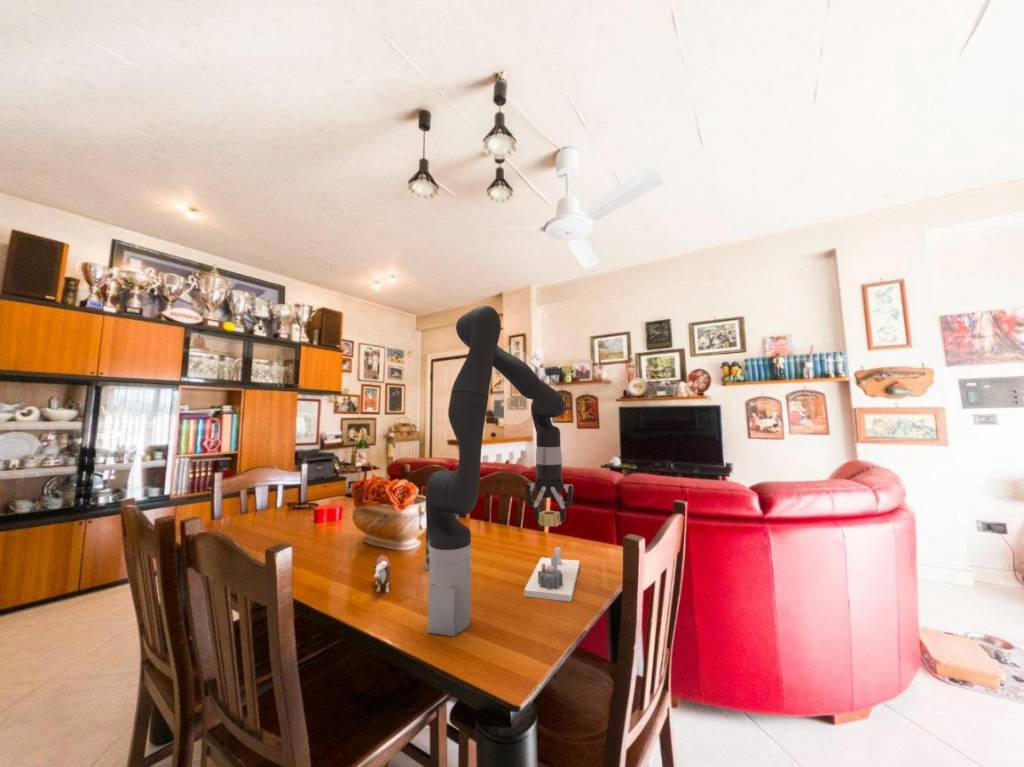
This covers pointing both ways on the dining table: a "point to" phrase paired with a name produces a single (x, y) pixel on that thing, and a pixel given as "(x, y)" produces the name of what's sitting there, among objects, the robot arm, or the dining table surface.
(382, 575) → the bull figurine
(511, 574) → the dining table surface
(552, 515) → the brass gear
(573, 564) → the gear board
